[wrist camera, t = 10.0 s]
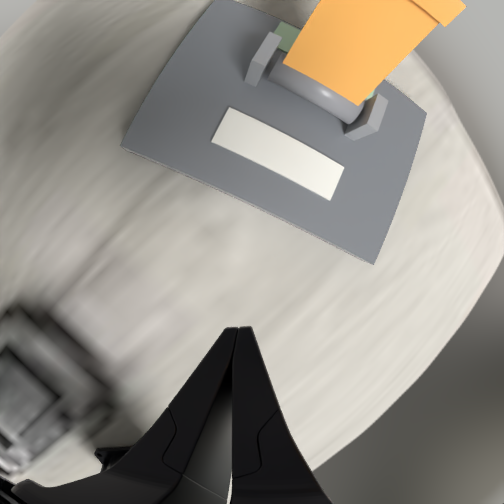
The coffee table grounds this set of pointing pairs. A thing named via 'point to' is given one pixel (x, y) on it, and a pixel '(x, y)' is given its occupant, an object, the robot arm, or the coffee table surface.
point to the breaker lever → (355, 49)
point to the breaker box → (276, 133)
